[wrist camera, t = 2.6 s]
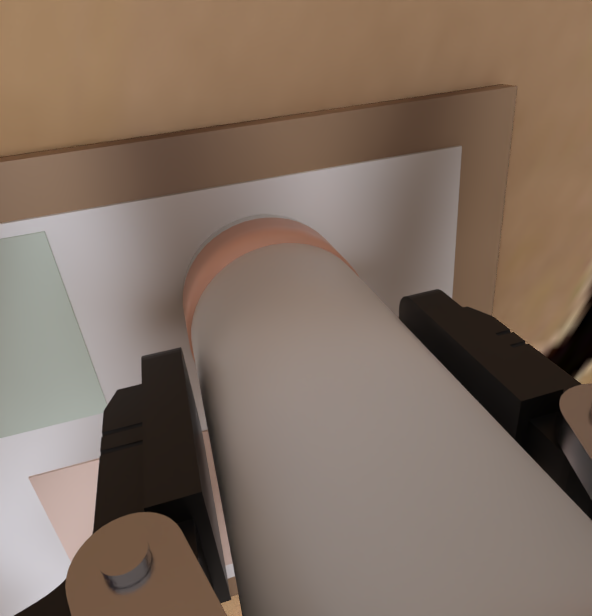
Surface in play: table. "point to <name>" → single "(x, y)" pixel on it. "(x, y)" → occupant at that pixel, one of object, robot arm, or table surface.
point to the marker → (361, 450)
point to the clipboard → (176, 259)
